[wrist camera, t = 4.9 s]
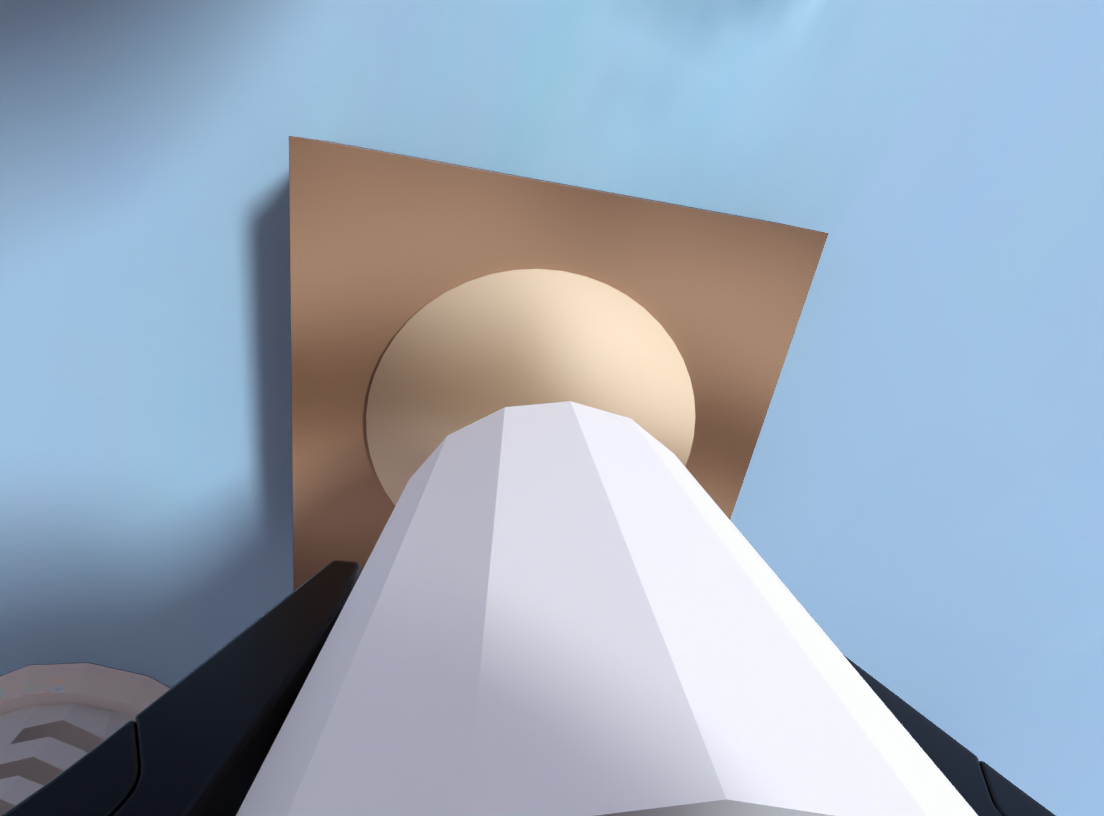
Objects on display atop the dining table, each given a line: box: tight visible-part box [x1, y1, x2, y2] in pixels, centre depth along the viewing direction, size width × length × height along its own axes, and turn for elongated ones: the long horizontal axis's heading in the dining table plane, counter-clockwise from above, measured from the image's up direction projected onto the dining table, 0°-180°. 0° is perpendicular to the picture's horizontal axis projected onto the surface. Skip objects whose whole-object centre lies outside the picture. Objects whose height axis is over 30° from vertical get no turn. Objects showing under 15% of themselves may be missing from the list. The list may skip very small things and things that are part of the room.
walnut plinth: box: [289, 136, 828, 591], centre depth 16 cm, size 12×12×3 cm
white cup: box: [236, 401, 978, 816], centre depth 7 cm, size 7×7×7 cm
